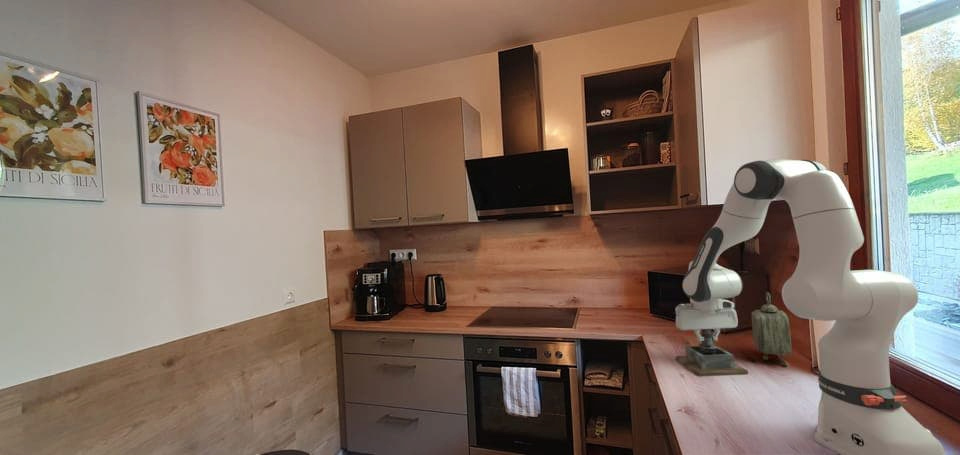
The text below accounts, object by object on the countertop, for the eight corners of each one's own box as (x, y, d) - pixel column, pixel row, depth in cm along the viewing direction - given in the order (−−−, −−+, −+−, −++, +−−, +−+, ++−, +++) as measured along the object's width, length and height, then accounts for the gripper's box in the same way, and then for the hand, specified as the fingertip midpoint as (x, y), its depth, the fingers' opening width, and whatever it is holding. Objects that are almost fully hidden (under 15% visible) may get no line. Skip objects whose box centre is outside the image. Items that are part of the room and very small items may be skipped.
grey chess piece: (712, 352, 129) (710, 320, 130) (721, 358, 123) (719, 324, 124) (696, 353, 130) (693, 320, 130) (704, 358, 124) (701, 325, 124)
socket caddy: (748, 374, 118) (746, 357, 118) (699, 376, 119) (697, 359, 119) (718, 357, 134) (717, 342, 134) (676, 359, 135) (674, 344, 135)
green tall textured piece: (793, 369, 119) (787, 296, 120) (760, 365, 124) (754, 295, 125) (784, 355, 132) (778, 289, 132) (754, 352, 137) (748, 288, 137)
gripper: (679, 306, 125) (682, 344, 124) (739, 302, 123) (742, 342, 123) (670, 302, 131) (673, 339, 131) (727, 299, 130) (730, 336, 129)
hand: (707, 340), depth 127 cm, fingers closed on grey chess piece, 3 cm apart
